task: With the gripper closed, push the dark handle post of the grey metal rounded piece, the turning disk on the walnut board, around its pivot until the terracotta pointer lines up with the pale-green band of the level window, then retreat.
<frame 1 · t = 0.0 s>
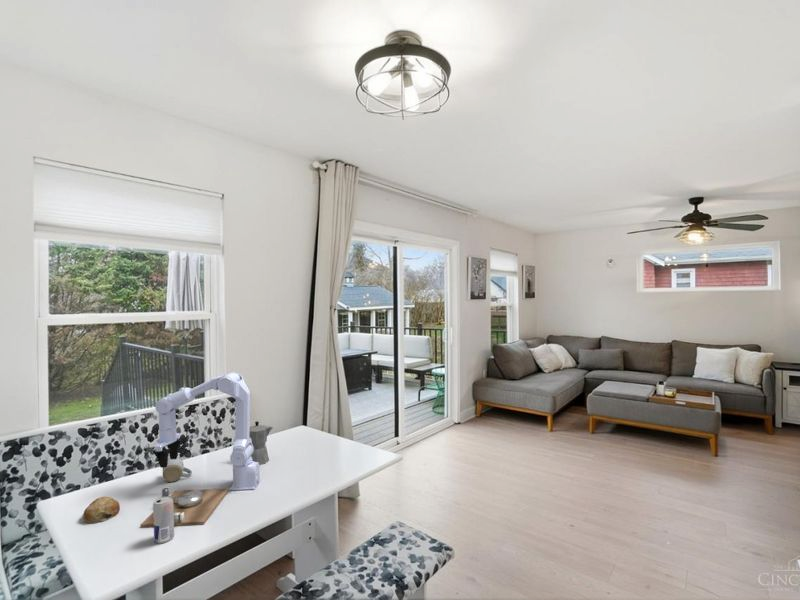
hand: (168, 463, 161), 10 cm above the table, fingers open, 7 cm apart
energy drink: (164, 539, 128), on the table
stand board: (188, 507, 146), on the table
grey metal rounded piece: (180, 495, 148), point 4 cm above the table, hinge at 0.0°
bread roll: (101, 516, 142), on the table
ceramic mug: (177, 478, 171), on the table
coffeepot: (255, 462, 185), on the table
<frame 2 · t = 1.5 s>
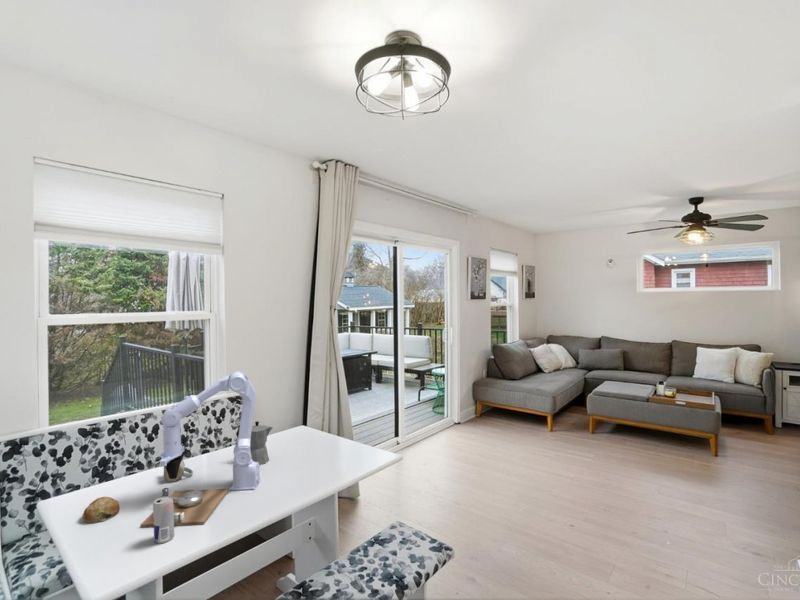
hand: (173, 478, 153), 8 cm above the table, fingers closed
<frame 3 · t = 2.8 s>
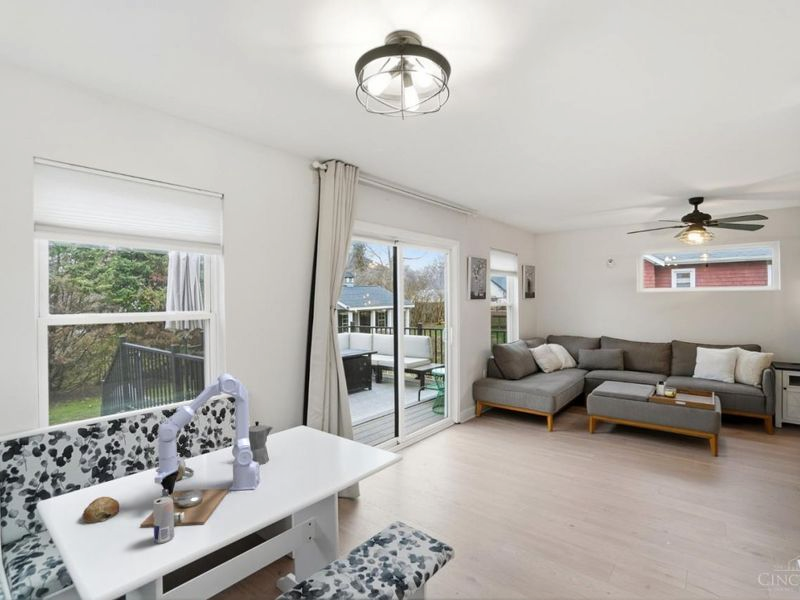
hand: (169, 493, 150), 3 cm above the table, fingers closed
grey metal rounded piece: (180, 495, 148), point 4 cm above the table, hinge at 0.0°, touching gripper
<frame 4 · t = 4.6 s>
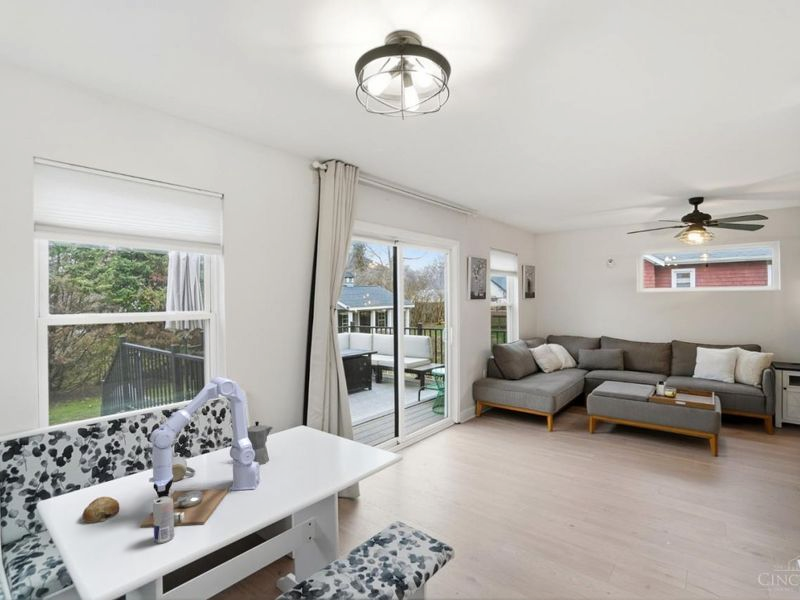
hand: (163, 503, 143), 3 cm above the table, fingers closed, pressing on grey metal rounded piece
grey metal rounded piece: (180, 498, 145), point 4 cm above the table, hinge at 45.1°, touching gripper
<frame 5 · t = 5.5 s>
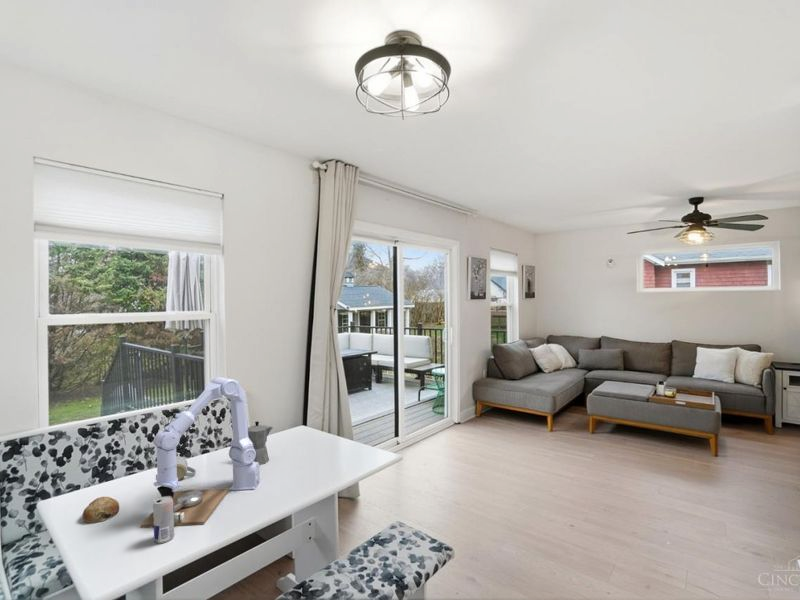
hand: (168, 506, 141), 4 cm above the table, fingers closed, pressing on grey metal rounded piece
grey metal rounded piece: (183, 499, 145), point 4 cm above the table, hinge at 70.2°, touching gripper
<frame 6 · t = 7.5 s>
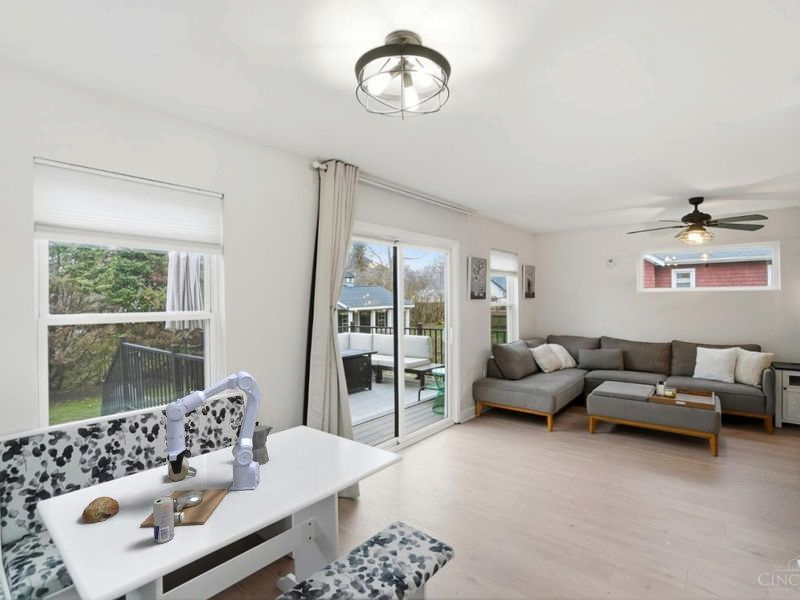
hand: (177, 473, 151), 10 cm above the table, fingers closed
grey metal rounded piece: (184, 499, 145), point 4 cm above the table, hinge at 78.6°
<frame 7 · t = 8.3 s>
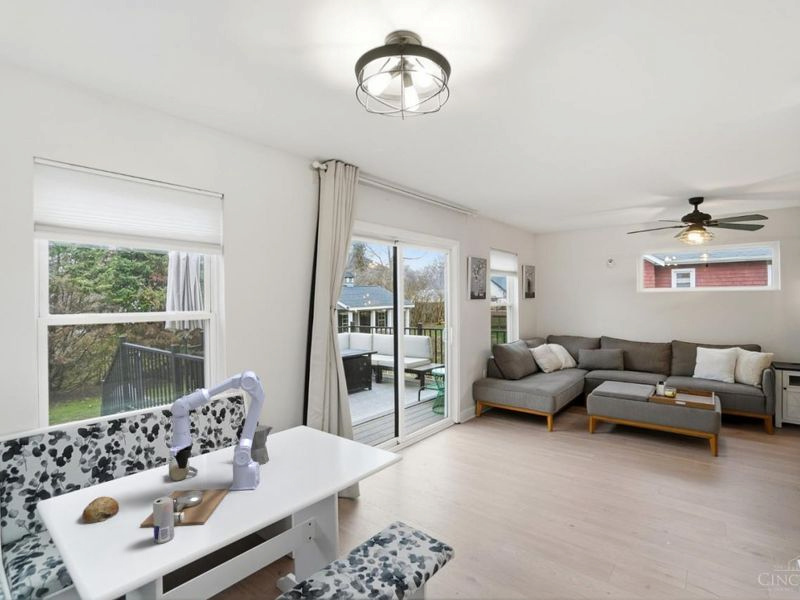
hand: (182, 467, 155), 10 cm above the table, fingers closed
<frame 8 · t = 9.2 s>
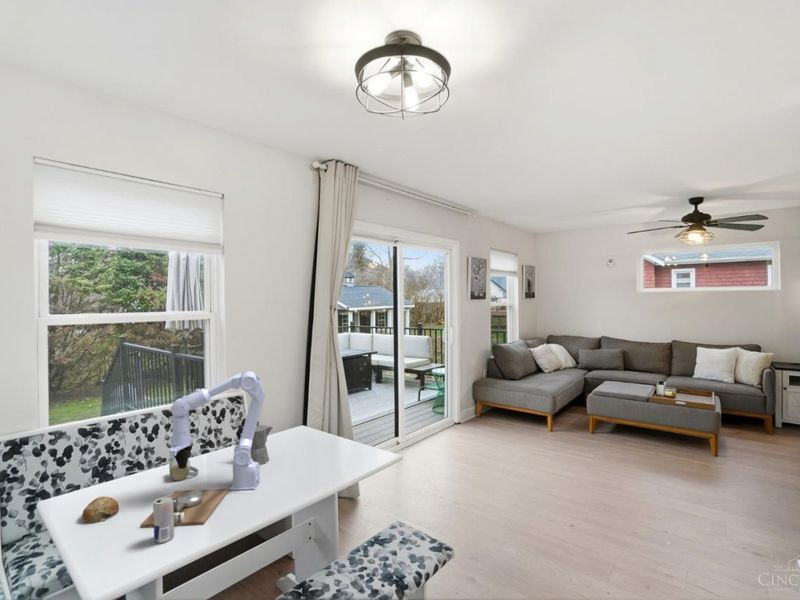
hand: (182, 467, 155), 10 cm above the table, fingers closed
at the end: grey metal rounded piece at +79° (first picture: +0°) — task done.
